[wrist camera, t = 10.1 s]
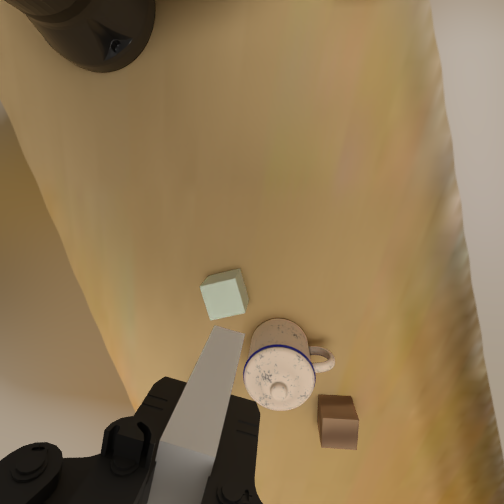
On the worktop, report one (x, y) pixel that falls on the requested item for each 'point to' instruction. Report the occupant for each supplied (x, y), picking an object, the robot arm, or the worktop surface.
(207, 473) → the robot arm
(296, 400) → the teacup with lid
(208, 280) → the sage block
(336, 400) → the walnut block
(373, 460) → the worktop surface
